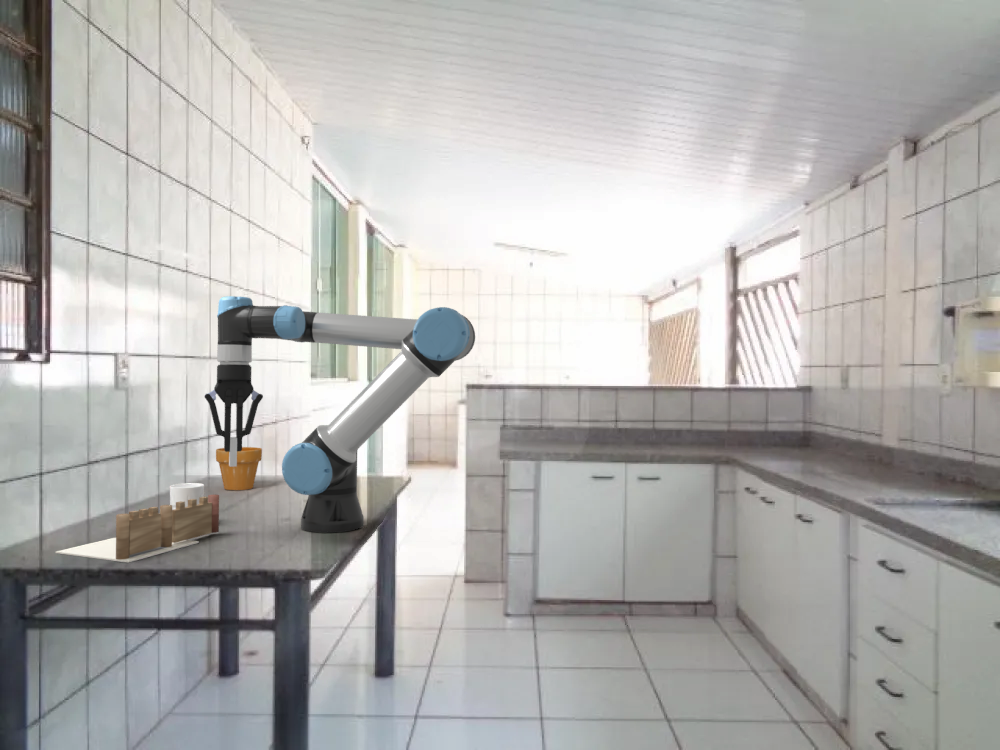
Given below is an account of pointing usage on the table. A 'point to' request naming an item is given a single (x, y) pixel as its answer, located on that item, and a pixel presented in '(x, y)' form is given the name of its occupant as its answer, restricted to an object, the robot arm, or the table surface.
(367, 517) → the table surface
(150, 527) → the wooden castle wall
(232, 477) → the flower pot
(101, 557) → the card
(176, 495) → the white cup
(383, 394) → the robot arm
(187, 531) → the swing panel
